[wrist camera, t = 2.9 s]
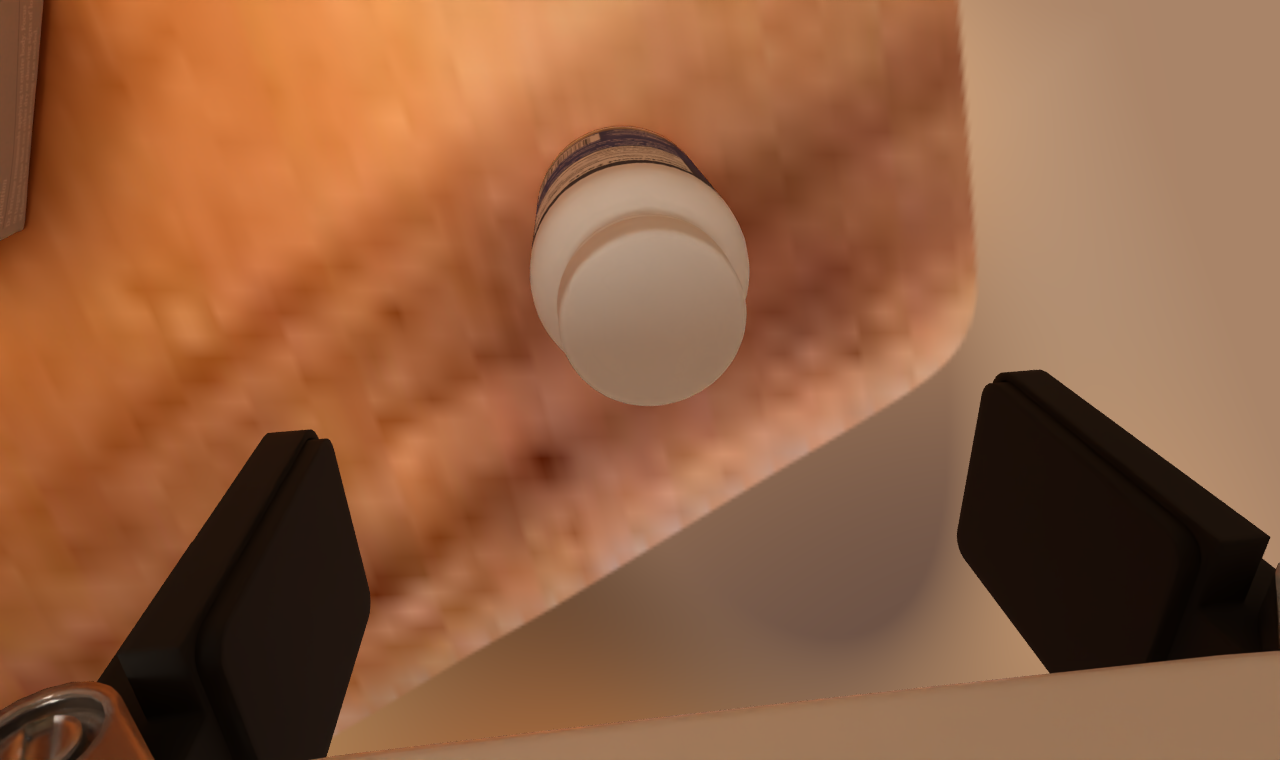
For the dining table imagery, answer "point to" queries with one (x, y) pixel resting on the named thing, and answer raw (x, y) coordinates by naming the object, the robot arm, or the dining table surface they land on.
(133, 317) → the dining table surface
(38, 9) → the cosmetic box
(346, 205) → the dining table surface
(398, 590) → the dining table surface
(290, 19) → the dining table surface
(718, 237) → the pill bottle
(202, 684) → the robot arm
